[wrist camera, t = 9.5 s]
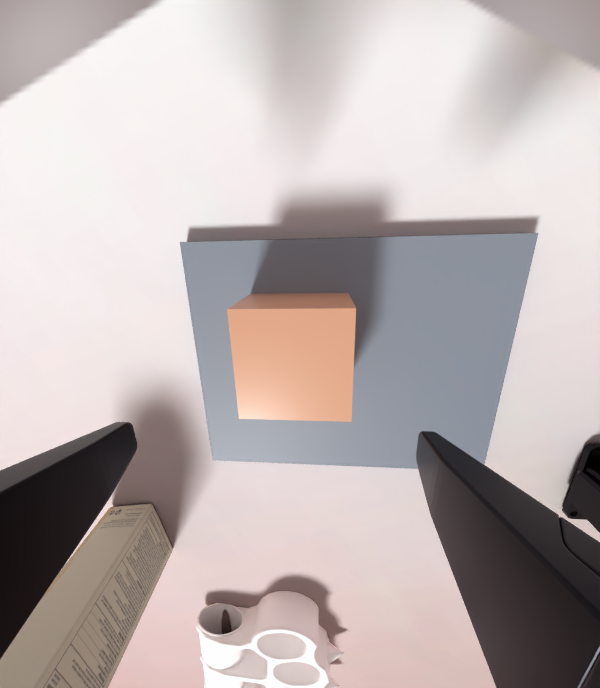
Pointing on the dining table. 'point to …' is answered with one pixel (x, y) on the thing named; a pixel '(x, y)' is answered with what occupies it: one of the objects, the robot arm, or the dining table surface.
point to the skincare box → (91, 605)
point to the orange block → (293, 356)
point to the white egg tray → (267, 645)
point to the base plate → (370, 340)
